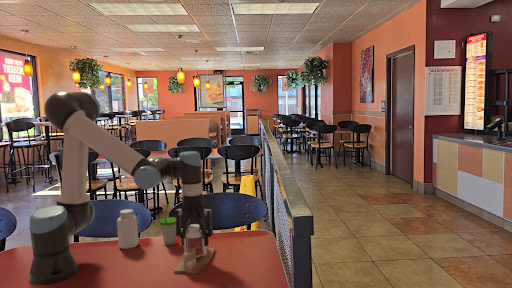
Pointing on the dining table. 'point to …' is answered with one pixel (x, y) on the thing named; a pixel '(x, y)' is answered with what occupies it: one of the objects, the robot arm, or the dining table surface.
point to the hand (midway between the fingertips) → (195, 253)
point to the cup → (168, 230)
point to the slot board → (194, 261)
